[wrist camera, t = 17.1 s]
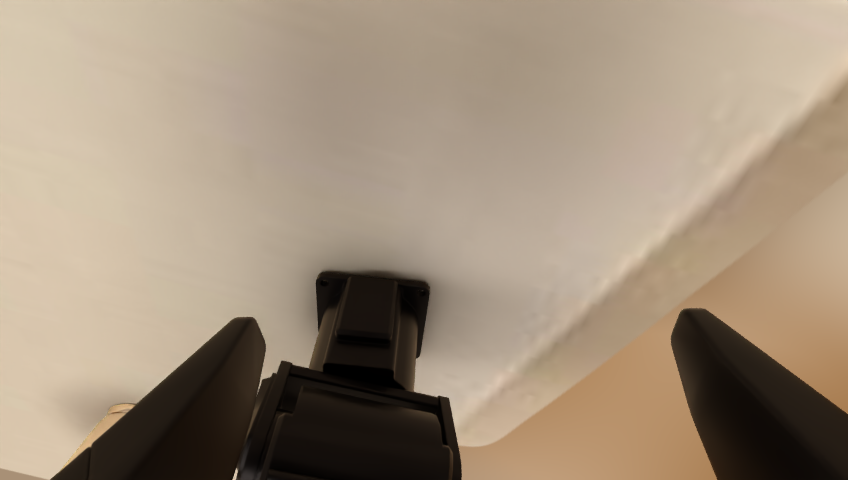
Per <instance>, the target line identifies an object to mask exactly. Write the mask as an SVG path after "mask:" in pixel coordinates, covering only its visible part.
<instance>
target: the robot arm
mask: <svg viewBox="0 0 848 480" xmlns="http://www.w3.org/2000/svg"><path fill="white" fill-rule="evenodd" d="M323 280H326V281H328V282H325V281H323ZM418 290H423V291H422V292H420V291H418ZM316 294H317V313H318V332H319V333H318V337H317V340H316V344H315V347H314V351H313V354H312V358H311V362H310V365H309V368H305V367H300V366H296V365H292V363H291V362H287V361H281V364H280V366H279V369H278V371H277V374H276V373H273V374H272V376H271V377H270V378H266V379H263V381H262V383H261V386H260V389H259V392H258V387H259V382H260V377H261V372H262V367H263V362H264V357H265V351H266V344H265V340H264V338H263V335H262V333H261V330H260V328H259V326H258V323H257V321H256V320H255V319H254V318H253V317H237V318H234V319H233V320H231V321H230V322H229V323H228V324H227V325H226V326H224V327H223V328H222V329H221V330H220V331H219V332H218V333H217V334H215V335H214V336H213V337H212V338H211V339H210V340H209V341H207V342H206V343H205V344H204V345H203V346H202V347H201V348H200V349H198V350H197V351H196V352H195V353H194V354H193V355H192V356H190V357H189V358H188V359H187V360H186V361H185V362H184V363H183V364H181V365H180V366H179V367H178V368H177V369H176V370H175V371H173V372H172V373H171V374H170V375H169V376H168V377H167V378H166V379H164V380H163V381H162V382H161V383H160V384H159V385H158V386H156V387H155V388H154V389H153V390H152V391H151V392H150V393H149V394H147V395H146V396H145V397H144V398H143V399H142V400H141V401H139V402H138V403H137V404H136V405H135V406H134V407H133V408H132V409H130V410H129V411H128V412H127V413H126V414H125V415H124V416H122V417H121V418H120V419H119V420H118V421H117V422H116V423H115V424H113V425H112V426H111V427H110V428H109V429H108V430H107V431H105V432H104V433H103V434H102V435H101V436H100V437H99V438H98V439H96V440H95V441H94V442H93V443H92V445H91V447H87V448H86V449H85V450H84V451H83V452H82V453H80V454H79V455H78V456H77V457H76V458H75V459H74V460H72V461H71V462H70V463H69V464H68V465H67V466H65V467H64V468H63V469H62V470H61V471H60V472H58V473H57V474H56V475H55V476H54V477H53V478H51V479H50V480H232V479H233V476H234V473H235V470H236V468H237V470H238V473H237V478H236V480H461V477H462V473H461V459H460V453H459V448H458V443H457V438H456V432H455V427H454V422H453V417H452V412H451V407H450V401H449V398H447V397H442V396H438V397H434V396H430V395H425V394H421V393H416V392H414V381H415V365H416V358H418V357H419V356H420V352H421V345H422V339H423V333H424V326H425V320H426V313H427V307H428V301H429V294H430V287H429V286H428V284H426V283H423V282H416V281H406V280H396V279H387V278H377V277H367V276H357V275H348V274H338V273H328V272H322V273H320V274H319V275H318V277H317V280H316ZM671 345H672V349H673V353H674V357H675V360H676V364H677V367H678V371H679V374H680V378H681V381H682V385H683V388H684V392H685V396H686V399H687V403H688V406H689V409H690V412H691V415H692V418H693V421H694V423H695V426H696V428H697V431H698V433H699V436H700V438H701V441H702V443H703V446H704V448H705V450H706V453H707V455H708V458H709V460H710V462H711V465H712V467H713V470H714V472H715V475H716V477H717V480H848V414H847V413H846V412H844V411H843V410H841V409H840V408H839V407H837V406H836V405H835V404H833V403H832V402H831V401H829V400H828V399H827V398H825V397H824V396H823V395H821V394H819V393H818V392H817V391H816V390H814V389H813V388H812V387H810V386H809V385H808V384H806V383H805V382H804V381H802V380H801V379H800V378H798V377H797V376H796V375H794V374H793V373H791V372H790V371H789V370H787V369H786V368H785V367H783V366H782V365H781V364H779V363H778V362H777V361H775V360H774V359H772V358H771V357H770V356H768V355H767V354H766V353H764V352H763V351H762V350H760V349H759V348H758V347H756V346H755V345H754V344H752V343H751V342H749V341H748V340H747V339H745V338H744V337H743V336H741V335H740V334H739V333H737V332H736V331H734V330H733V329H732V328H731V327H729V326H728V325H727V324H725V323H724V322H723V321H721V320H720V319H718V318H717V317H716V316H714V315H713V314H711V313H710V312H709V311H707V310H706V309H702V308H689V309H683V310H682V311H681V312H680V314H679V316H678V319H677V321H676V324H675V327H674V329H673V332H672V335H671ZM257 392H258V394H257Z"/></svg>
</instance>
